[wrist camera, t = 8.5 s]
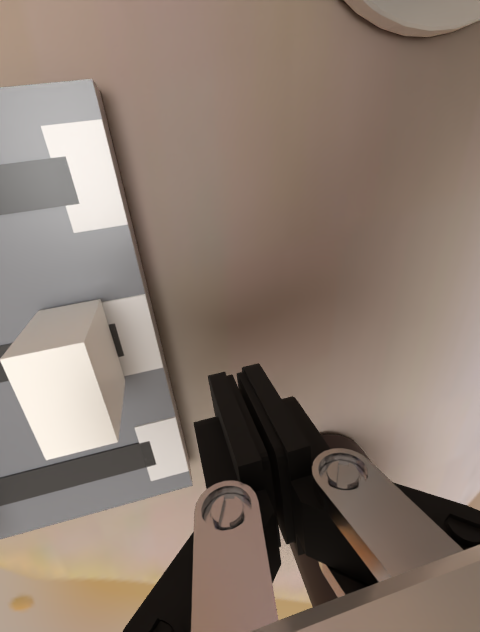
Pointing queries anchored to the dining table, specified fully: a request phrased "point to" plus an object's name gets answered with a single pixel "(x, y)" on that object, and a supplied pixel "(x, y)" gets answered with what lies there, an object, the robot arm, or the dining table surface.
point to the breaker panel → (71, 288)
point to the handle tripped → (68, 378)
